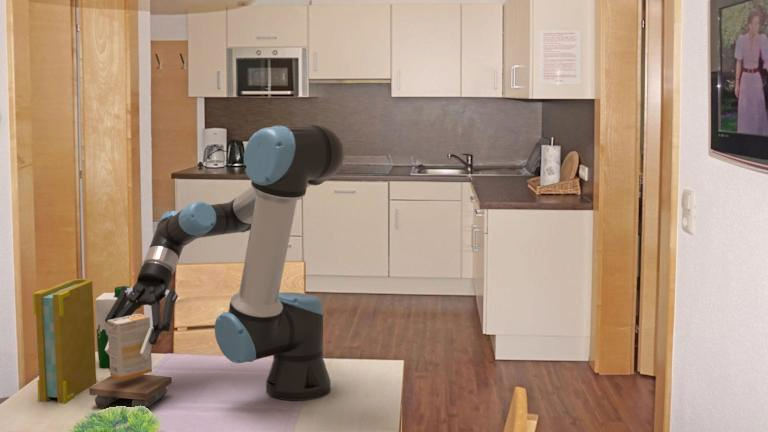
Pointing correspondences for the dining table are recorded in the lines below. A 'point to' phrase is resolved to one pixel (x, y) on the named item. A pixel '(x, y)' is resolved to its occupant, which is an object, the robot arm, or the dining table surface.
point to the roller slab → (131, 389)
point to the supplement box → (128, 346)
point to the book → (65, 339)
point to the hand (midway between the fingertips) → (125, 354)
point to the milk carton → (102, 310)
